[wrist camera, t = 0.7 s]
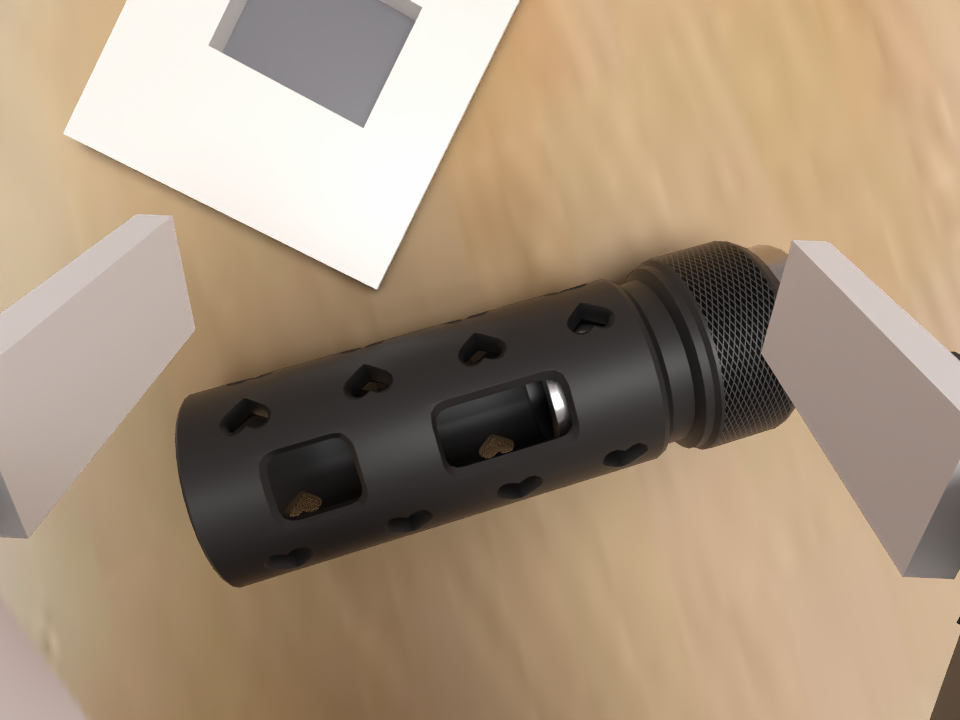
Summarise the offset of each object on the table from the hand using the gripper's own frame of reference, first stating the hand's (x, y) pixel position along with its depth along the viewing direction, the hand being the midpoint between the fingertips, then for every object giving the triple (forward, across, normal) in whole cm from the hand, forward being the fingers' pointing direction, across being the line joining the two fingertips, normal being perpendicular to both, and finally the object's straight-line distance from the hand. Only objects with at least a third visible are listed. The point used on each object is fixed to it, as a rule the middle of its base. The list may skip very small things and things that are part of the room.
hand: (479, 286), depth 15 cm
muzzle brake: (+19, -1, +15) cm, 24 cm away
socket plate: (+25, +9, -2) cm, 26 cm away
